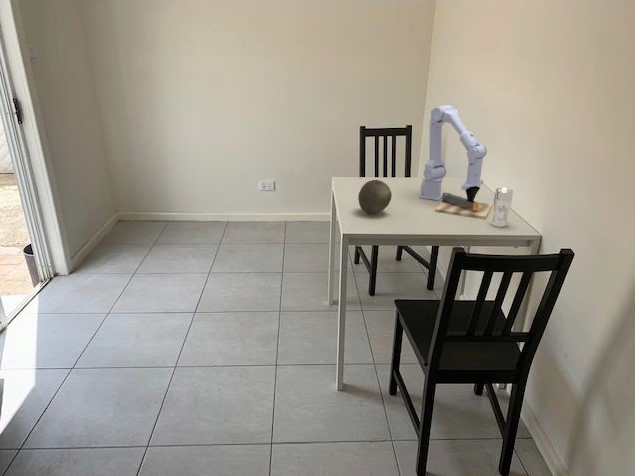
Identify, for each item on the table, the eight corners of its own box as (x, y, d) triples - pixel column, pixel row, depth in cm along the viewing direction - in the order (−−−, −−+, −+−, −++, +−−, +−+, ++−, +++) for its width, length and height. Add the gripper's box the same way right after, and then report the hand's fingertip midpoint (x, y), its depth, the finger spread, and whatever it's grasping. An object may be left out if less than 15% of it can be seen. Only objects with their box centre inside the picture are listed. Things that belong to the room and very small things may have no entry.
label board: (434, 211, 212) (435, 207, 212) (443, 200, 227) (444, 196, 226) (485, 219, 203) (486, 215, 203) (491, 206, 218) (492, 203, 217)
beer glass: (495, 220, 202) (500, 186, 196) (510, 224, 197) (516, 190, 192) (487, 224, 198) (492, 190, 192) (503, 228, 193) (508, 193, 187)
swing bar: (440, 199, 221) (441, 193, 220) (445, 198, 223) (445, 192, 221) (474, 210, 207) (475, 203, 206) (478, 209, 209) (479, 202, 208)
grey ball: (364, 220, 203) (366, 186, 197) (353, 209, 215) (354, 177, 209) (395, 217, 206) (397, 184, 200) (382, 206, 219) (384, 175, 213)
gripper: (473, 177, 200) (469, 207, 205) (491, 171, 209) (486, 200, 214) (458, 174, 205) (455, 203, 210) (476, 168, 213) (473, 197, 219)
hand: (470, 202), depth 212 cm, fingers closed
